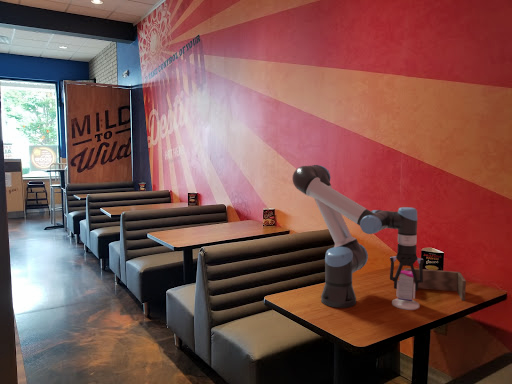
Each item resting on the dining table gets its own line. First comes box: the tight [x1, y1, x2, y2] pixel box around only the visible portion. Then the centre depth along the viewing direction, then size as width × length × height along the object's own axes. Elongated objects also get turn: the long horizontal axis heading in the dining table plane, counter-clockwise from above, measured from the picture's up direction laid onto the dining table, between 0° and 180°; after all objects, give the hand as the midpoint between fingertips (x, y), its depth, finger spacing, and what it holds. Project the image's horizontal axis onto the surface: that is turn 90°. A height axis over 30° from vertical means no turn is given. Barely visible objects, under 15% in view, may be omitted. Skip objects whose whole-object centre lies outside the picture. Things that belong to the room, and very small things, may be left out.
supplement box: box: [397, 269, 413, 301], centre depth 168 cm, size 6×6×12 cm
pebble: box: [391, 298, 420, 311], centre depth 168 cm, size 11×11×1 cm
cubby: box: [404, 267, 467, 302], centre depth 181 cm, size 24×13×9 cm, turn 72°
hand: (405, 296), depth 167 cm, fingers closed on supplement box, 6 cm apart
